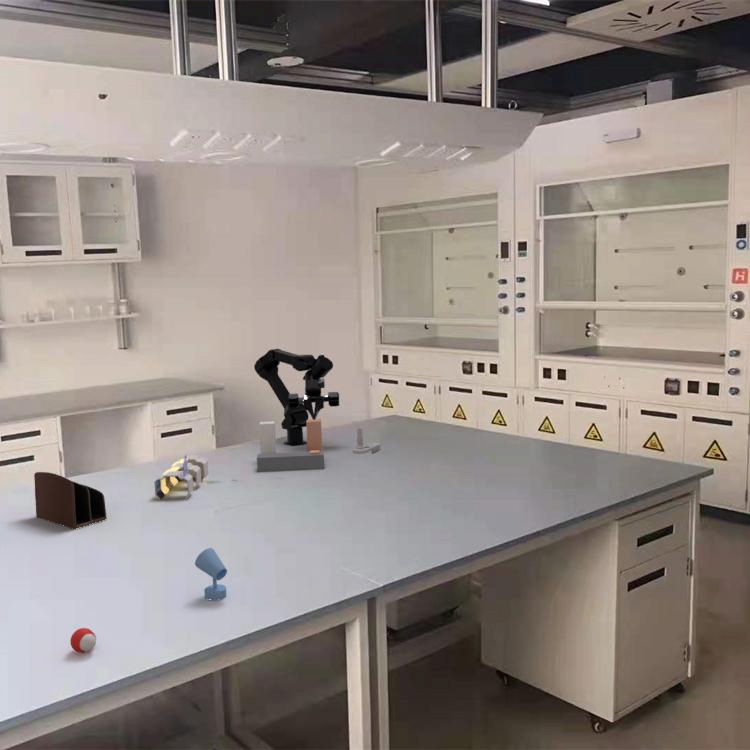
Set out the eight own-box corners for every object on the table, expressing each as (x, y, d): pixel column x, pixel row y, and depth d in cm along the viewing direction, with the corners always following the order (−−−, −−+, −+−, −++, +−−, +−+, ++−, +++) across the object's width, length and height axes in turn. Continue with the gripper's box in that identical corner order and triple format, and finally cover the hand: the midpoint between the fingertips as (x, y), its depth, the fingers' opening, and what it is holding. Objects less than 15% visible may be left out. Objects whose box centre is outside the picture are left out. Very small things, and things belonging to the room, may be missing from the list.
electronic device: (381, 424, 295) (362, 430, 281) (382, 450, 296) (363, 458, 282) (368, 423, 297) (349, 430, 284) (369, 449, 298) (350, 456, 285)
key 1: (262, 461, 276) (260, 421, 274) (276, 460, 277) (274, 421, 275) (261, 464, 272) (259, 424, 270) (275, 463, 273) (273, 423, 271)
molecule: (66, 652, 145) (64, 630, 144) (90, 642, 148) (88, 620, 148) (82, 660, 142) (80, 637, 141) (106, 649, 145) (104, 627, 145)
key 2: (308, 459, 277) (306, 419, 275) (322, 458, 278) (320, 419, 276) (308, 462, 273) (306, 422, 271) (322, 461, 274) (321, 421, 272)
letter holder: (74, 530, 213) (70, 479, 211) (35, 517, 226) (31, 469, 224) (107, 520, 221) (103, 471, 219) (68, 508, 233) (64, 461, 231)
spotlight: (194, 595, 168) (215, 603, 163) (191, 550, 166) (212, 557, 162) (213, 587, 172) (234, 595, 167) (210, 543, 170) (231, 550, 166)
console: (261, 463, 278) (260, 445, 277) (324, 460, 280) (323, 442, 279) (257, 475, 263) (256, 456, 262) (324, 472, 264) (323, 453, 263)
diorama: (189, 500, 238) (186, 457, 236) (155, 501, 239) (152, 458, 237) (208, 478, 263) (206, 439, 261) (177, 478, 263) (175, 440, 261)
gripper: (286, 372, 288) (286, 407, 278) (338, 370, 289) (339, 405, 279) (288, 390, 296) (288, 425, 287) (338, 388, 298) (340, 422, 288)
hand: (314, 419), depth 285 cm, fingers closed
